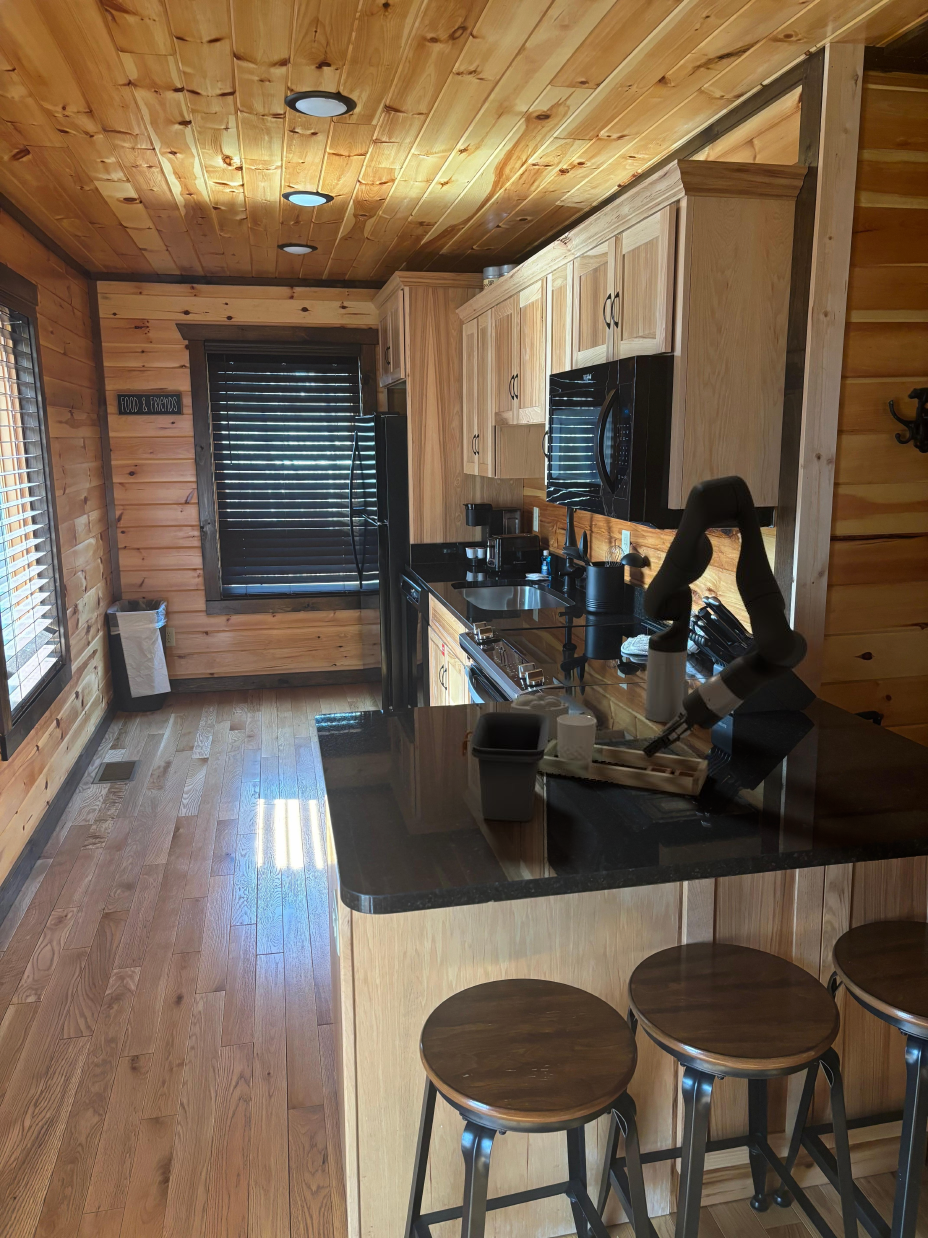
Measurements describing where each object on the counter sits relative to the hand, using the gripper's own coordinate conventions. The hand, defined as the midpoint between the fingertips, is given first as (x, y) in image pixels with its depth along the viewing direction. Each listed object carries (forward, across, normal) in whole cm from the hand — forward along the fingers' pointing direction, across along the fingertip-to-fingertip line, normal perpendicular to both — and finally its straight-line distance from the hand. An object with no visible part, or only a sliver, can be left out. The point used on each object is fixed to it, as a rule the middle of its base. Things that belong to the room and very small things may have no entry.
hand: (646, 753), depth 177 cm
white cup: (+14, 0, -7) cm, 15 cm away
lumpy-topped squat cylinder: (+23, -18, -16) cm, 34 cm away
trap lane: (+7, 0, 0) cm, 7 cm away
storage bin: (+18, +25, -11) cm, 33 cm away
